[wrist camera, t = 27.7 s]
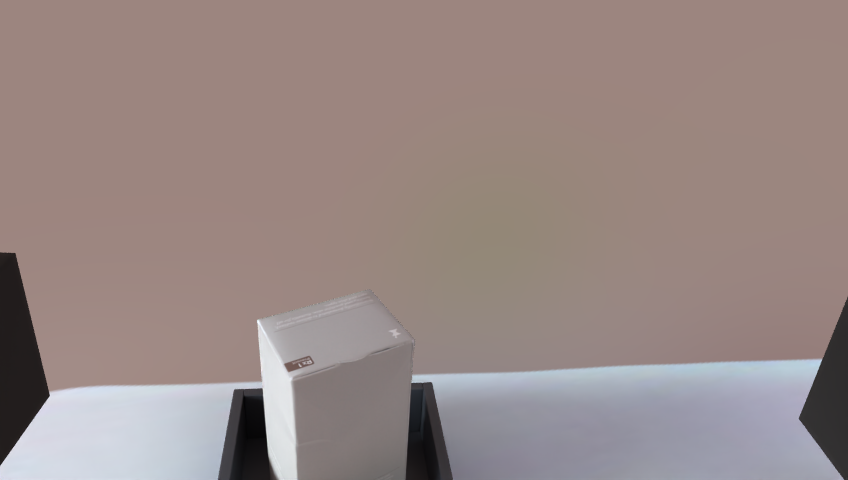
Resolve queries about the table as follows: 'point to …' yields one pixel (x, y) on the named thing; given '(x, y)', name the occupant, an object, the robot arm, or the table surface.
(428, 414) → the box
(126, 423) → the table surface
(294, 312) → the cosmetic box
